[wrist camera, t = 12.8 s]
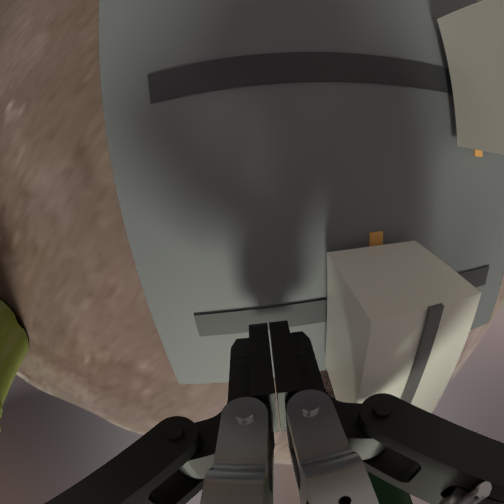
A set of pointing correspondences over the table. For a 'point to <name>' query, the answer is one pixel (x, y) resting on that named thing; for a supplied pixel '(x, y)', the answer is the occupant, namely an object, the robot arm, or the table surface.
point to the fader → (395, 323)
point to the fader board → (285, 159)
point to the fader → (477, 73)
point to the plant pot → (10, 349)
